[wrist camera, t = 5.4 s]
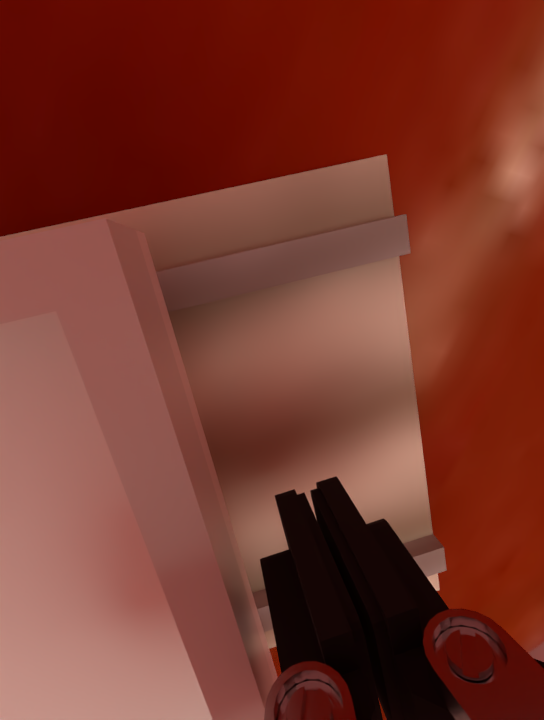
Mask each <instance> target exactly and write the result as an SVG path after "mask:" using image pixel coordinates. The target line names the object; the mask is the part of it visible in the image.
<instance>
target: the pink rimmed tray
mask: <svg viewBox="0 0 544 720" xmlns="http://www.w3.org/2000/svg"><path fill="white" fill-rule="evenodd" d="M277 678H278V677H277V674H276V671H275V667H274V664H273V661H272V657H271V654H270V651H269V647H268V644H267V641H266V637H265V634H264V631H263V627H262V624H261V621H260V617H259V614H258V611H257V607H256V604H255V601H254V597H253V594H252V591H251V587H250V584H249V581H248V577H247V574H246V571H245V567H244V564H243V561H242V557H241V554H240V551H239V547H238V544H237V541H236V537H235V534H234V531H233V527H232V524H231V521H230V517H229V514H228V511H227V507H226V504H225V501H224V497H223V494H222V491H221V487H220V484H219V481H218V477H217V474H216V471H215V467H214V464H213V461H212V457H211V454H210V451H209V447H208V444H207V441H206V437H205V434H204V431H203V427H202V424H201V421H200V417H199V414H198V411H197V407H196V404H195V401H194V397H193V394H192V391H191V387H190V384H189V381H188V377H187V374H186V371H185V367H184V364H183V361H182V357H181V354H180V351H179V347H178V344H177V341H176V337H175V334H174V331H173V327H172V324H171V321H170V317H169V314H168V311H167V307H166V304H165V301H164V297H163V294H162V291H161V287H160V284H159V281H158V277H157V274H156V271H155V267H154V264H153V261H152V257H151V254H150V251H149V247H148V244H147V241H146V237H145V234H144V233H142V232H140V231H137V230H135V229H132V228H130V227H127V226H125V225H122V224H119V223H117V222H114V221H112V220H109V219H107V218H104V219H100V220H95V221H90V222H86V223H81V224H76V225H72V226H67V227H62V228H58V229H53V230H48V231H44V232H39V233H34V234H30V235H25V236H20V237H16V238H11V239H6V240H2V241H0V720H264V714H265V706H266V699H267V697H268V694H269V692H270V689H271V687H272V685H273V684H274V682H275V681H276V680H277Z"/></svg>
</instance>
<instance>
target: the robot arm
mask: <svg viewBox="0 0 544 720" xmlns="http://www.w3.org/2000/svg"><path fill="white" fill-rule="evenodd" d="M316 486H317V488H316V489H313V490H310V493H311V498H312V502H313V506H314V510H315V515H316V518H315V515H314V513H313V511H312V509H311V506H310V504H309V502H308V499H307V497H306V495H305V493H300V494H297V493H296V491H295V489H293V490H290V491H287V492H284V493H281V494H277V495H275V499H276V503H277V507H278V511H279V514H280V518H281V522H282V526H283V529H284V533H285V537H286V541H287V544H288V548H289V549H288V550H285V551H282V552H279V553H276V554H273V555H270V556H267V557H264V558H261V559H260V564H261V569H262V574H263V579H264V585H265V590H266V595H267V600H268V605H269V610H270V615H271V621H272V626H273V631H274V636H275V641H276V646H277V652H278V657H279V662H280V667H281V672H282V673H281V674H280V676H279V677H278V678H277V680H276V681H275V682H274V684H273V685H272V687H271V689H270V692H269V694H268V697H267V699H266V706H265V714H264V720H383V719H382V714H381V709H380V705H379V701H380V703H381V706H382V708H383V711H384V713H385V716H386V718H387V720H544V662H541V661H539V660H536V659H533V658H532V657H531V656H530V655H529V654H528V653H527V652H526V651H525V650H524V649H523V648H522V647H521V646H520V645H519V644H518V643H517V642H516V641H515V640H514V639H513V638H512V637H511V636H510V635H509V634H508V633H507V632H506V631H505V630H504V629H503V628H502V627H501V626H499V625H498V624H497V623H495V622H494V621H493V620H492V619H490V618H489V617H487V616H484V615H482V614H480V613H478V612H476V611H471V610H467V609H449V608H448V607H447V605H446V604H445V603H444V601H443V600H442V598H441V597H440V595H439V594H438V593H437V591H436V590H435V588H434V587H433V586H432V584H431V583H430V581H429V580H428V578H427V577H426V576H425V574H424V573H423V571H422V570H421V568H420V567H419V566H418V564H417V563H416V561H415V560H414V558H413V557H412V556H411V554H410V553H409V551H408V550H407V548H406V547H405V546H404V544H403V543H402V541H401V540H400V539H399V537H398V536H397V534H396V533H395V531H394V530H393V529H392V527H391V526H390V524H389V523H388V522H387V521H386V520H385V519H380V520H377V521H374V522H371V523H368V524H366V523H365V521H364V519H363V518H362V516H361V515H360V513H359V511H358V510H357V508H356V506H355V505H354V503H353V502H352V500H351V498H350V497H349V495H348V493H347V492H346V490H345V489H344V487H343V485H342V484H341V482H340V480H339V479H338V477H336V476H335V477H332V478H329V479H326V480H322V481H319V482H316ZM316 519H317V520H316ZM378 698H379V700H378Z"/></svg>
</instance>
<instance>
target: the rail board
mask: <svg viewBox="0 0 544 720" xmlns="http://www.w3.org/2000/svg"><path fill="white" fill-rule="evenodd" d="M104 218H107V219H109V220H112V221H114V222H117V223H119V224H122V225H125V226H127V227H130V228H132V229H135V230H137V231H140V232H142V233H144V234H145V237H146V241H147V244H148V247H149V251H150V254H151V257H152V261H153V264H154V267H155V271H156V274H157V277H158V281H159V284H160V287H161V291H162V294H163V297H164V301H165V304H166V307H167V311H168V314H169V317H170V321H171V324H172V327H173V331H174V334H175V337H176V341H177V344H178V347H179V351H180V354H181V357H182V361H183V364H184V367H185V371H186V374H187V377H188V381H189V384H190V387H191V391H192V394H193V397H194V401H195V404H196V407H197V411H198V414H199V417H200V421H201V424H202V427H203V431H204V434H205V437H206V441H207V444H208V447H209V451H210V454H211V457H212V461H213V464H214V467H215V471H216V474H217V477H218V481H219V484H220V487H221V491H222V494H223V497H224V501H225V504H226V507H227V511H228V514H229V517H230V521H231V524H232V527H233V531H234V534H235V537H236V541H237V544H238V547H239V551H240V554H241V557H242V561H243V564H244V567H245V571H246V574H247V577H248V581H249V584H250V587H251V591H252V594H253V597H254V601H255V604H256V607H257V611H258V614H259V617H260V621H261V624H262V627H263V631H264V634H265V637H266V641H267V644H268V647H269V649H270V648H272V647H275V646H276V641H275V636H274V631H273V626H272V621H271V615H270V610H269V605H268V600H267V595H266V590H265V585H264V579H263V574H262V569H261V564H260V559H261V558H264V557H267V556H270V555H273V554H276V553H279V552H282V551H285V550H288V549H289V548H288V544H287V541H286V537H285V533H284V529H283V526H282V522H281V518H280V514H279V511H278V507H277V503H276V499H275V495H277V494H281V493H284V492H287V491H290V490H293V489H295V491H296V493H297V494H300V493H305V495H306V497H307V499H308V502H309V504H310V506H311V509H312V511H313V513H314V515H315V510H314V506H313V502H312V498H311V493H310V490H313V489H316V488H317V486H316V482H319V481H322V480H326V479H329V478H332V477H335V476H336V477H338V479H339V480H340V482H341V484H342V485H343V487H344V489H345V490H346V492H347V493H348V495H349V497H350V498H351V500H352V502H353V503H354V505H355V506H356V508H357V510H358V511H359V513H360V515H361V516H362V518H363V519H364V521H365V523H366V524H368V523H371V522H374V521H377V520H380V519H385V520H386V521H387V522H388V523H389V524H390V526H391V527H392V529H393V530H394V531H395V533H396V534H397V536H398V537H399V539H400V540H401V541H402V543H403V544H404V546H405V547H406V548H407V550H408V551H409V553H410V554H411V556H412V557H413V558H414V560H415V561H416V563H417V564H418V566H419V567H420V568H421V570H422V571H423V573H424V574H425V576H426V577H427V578H428V580H429V581H430V583H431V584H432V586H433V587H434V588H435V590H436V591H438V590H440V589H439V581H438V573H440V572H443V571H446V562H445V553H444V547H443V546H442V544H441V543H440V542H439V541H438V540H437V538H436V537H435V536H434V535H433V532H432V523H431V515H430V507H429V499H428V490H427V482H426V474H425V466H424V458H423V449H422V441H421V433H420V425H419V416H418V408H417V400H416V392H415V384H414V375H413V367H412V359H411V351H410V342H409V334H408V326H407V318H406V309H405V301H404V293H403V285H402V277H401V268H400V260H399V256H401V255H405V254H409V253H411V252H410V243H409V235H408V226H407V217H406V214H405V215H400V216H395V217H394V211H393V203H392V194H391V186H390V178H389V170H388V161H387V154H386V155H381V156H377V157H372V158H367V159H362V160H358V161H353V162H348V163H344V164H339V165H334V166H330V167H325V168H320V169H316V170H311V171H306V172H302V173H297V174H292V175H288V176H283V177H278V178H273V179H269V180H264V181H259V182H255V183H250V184H245V185H241V186H236V187H231V188H227V189H222V190H217V191H213V192H208V193H203V194H198V195H194V196H189V197H184V198H180V199H175V200H170V201H166V202H161V203H156V204H152V205H147V206H142V207H138V208H133V209H128V210H123V211H119V212H114V213H109V214H105V215H100V216H95V217H91V218H86V219H81V220H77V221H72V222H67V223H63V224H58V225H53V226H49V227H44V228H39V229H34V230H30V231H25V232H20V233H16V234H11V235H6V236H2V237H0V241H2V240H6V239H11V238H16V237H20V236H25V235H30V234H34V233H39V232H44V231H48V230H53V229H58V228H62V227H67V226H72V225H76V224H81V223H86V222H90V221H95V220H100V219H104ZM315 518H316V515H315ZM316 520H317V519H316Z"/></svg>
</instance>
